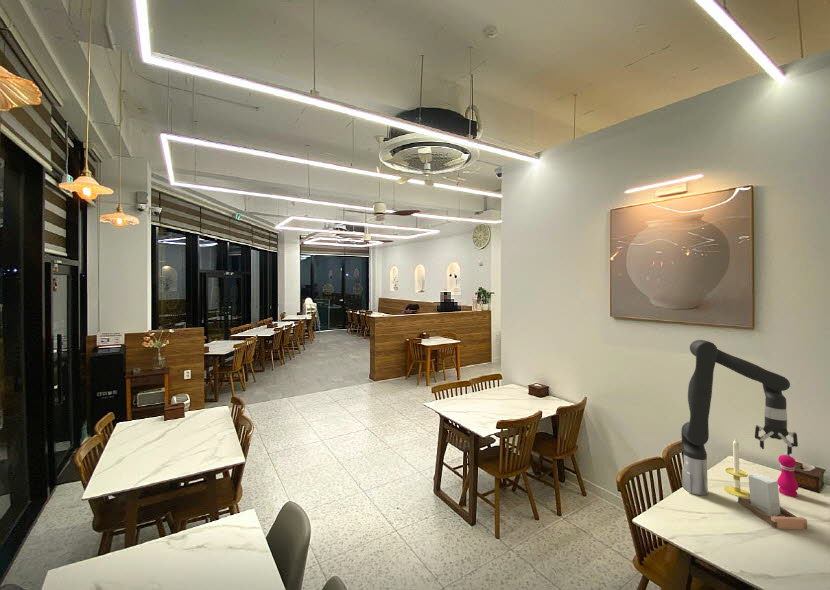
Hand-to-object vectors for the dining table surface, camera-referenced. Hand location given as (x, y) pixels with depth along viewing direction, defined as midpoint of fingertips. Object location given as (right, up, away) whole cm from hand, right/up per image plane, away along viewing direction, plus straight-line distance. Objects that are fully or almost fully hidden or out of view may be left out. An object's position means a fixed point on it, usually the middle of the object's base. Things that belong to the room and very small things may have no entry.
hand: (775, 451), depth 170 cm
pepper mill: (+13, -24, +6) cm, 27 cm away
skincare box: (-12, -24, -7) cm, 28 cm away
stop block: (-13, -24, -19) cm, 33 cm away
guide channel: (-12, -24, -10) cm, 29 cm away
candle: (-10, -24, +9) cm, 28 cm away
